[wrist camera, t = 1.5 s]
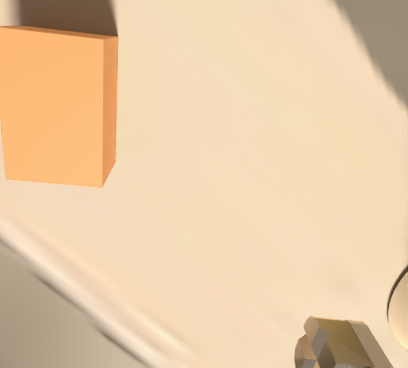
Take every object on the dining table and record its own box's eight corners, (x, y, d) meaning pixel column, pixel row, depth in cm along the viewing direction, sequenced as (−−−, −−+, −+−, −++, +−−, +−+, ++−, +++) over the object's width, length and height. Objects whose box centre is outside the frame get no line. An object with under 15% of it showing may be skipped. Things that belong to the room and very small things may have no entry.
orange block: (118, 36, 26) (103, 39, 21) (115, 161, 29) (102, 187, 24) (27, 25, 25) (-9, 26, 21) (35, 154, 29) (6, 179, 24)
